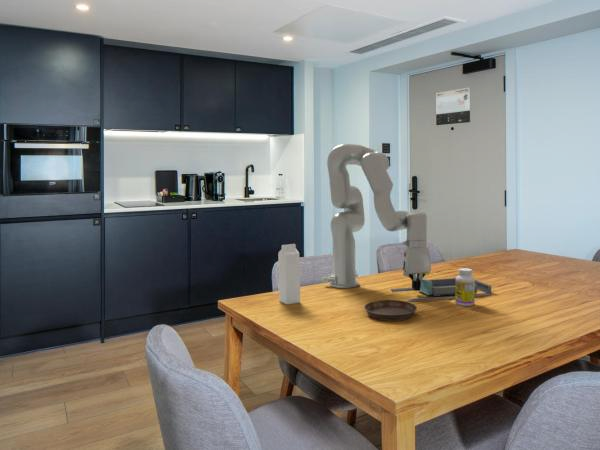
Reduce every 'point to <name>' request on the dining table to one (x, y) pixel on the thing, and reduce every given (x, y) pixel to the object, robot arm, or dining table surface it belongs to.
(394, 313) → the plant saucer
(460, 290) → the supplement bottle
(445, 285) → the drawer
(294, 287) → the milk
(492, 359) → the dining table surface
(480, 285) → the rails
